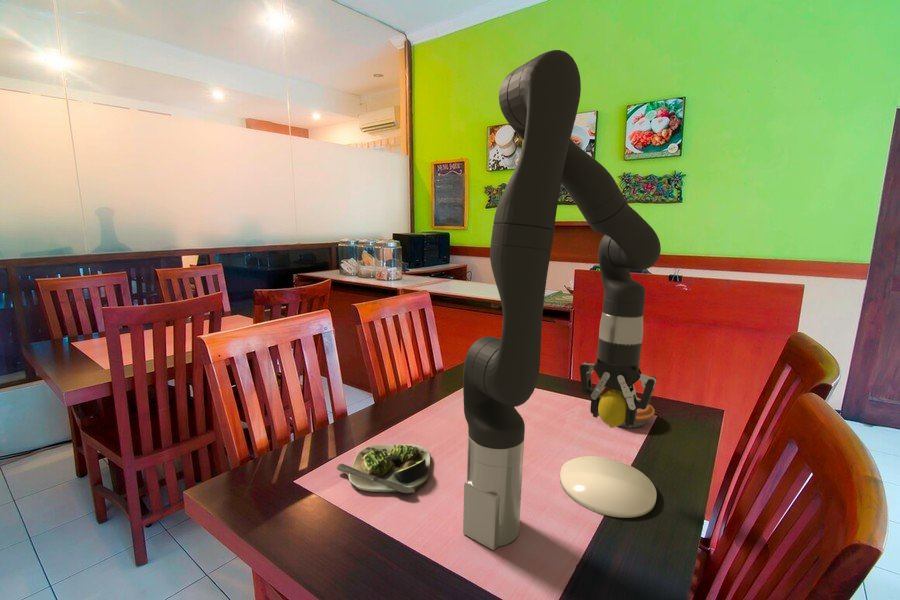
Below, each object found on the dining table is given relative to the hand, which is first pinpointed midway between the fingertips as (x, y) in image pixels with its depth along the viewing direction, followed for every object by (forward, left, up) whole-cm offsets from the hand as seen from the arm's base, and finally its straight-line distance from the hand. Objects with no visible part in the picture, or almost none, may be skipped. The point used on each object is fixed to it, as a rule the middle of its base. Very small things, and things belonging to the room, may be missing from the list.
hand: (612, 420), depth 81 cm
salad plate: (-23, +37, -15) cm, 46 cm away
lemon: (0, 0, -2) cm, 2 cm away
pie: (+34, +6, -15) cm, 38 cm away
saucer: (0, 0, -14) cm, 14 cm away
